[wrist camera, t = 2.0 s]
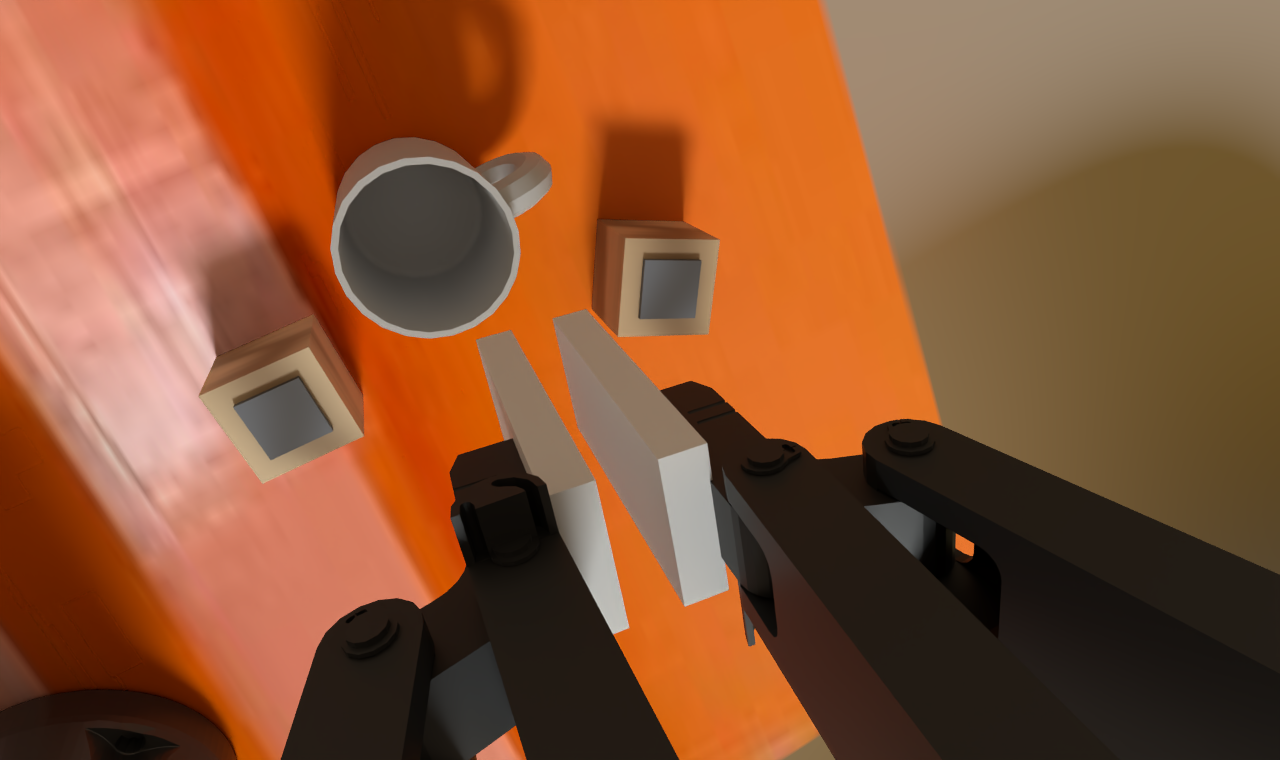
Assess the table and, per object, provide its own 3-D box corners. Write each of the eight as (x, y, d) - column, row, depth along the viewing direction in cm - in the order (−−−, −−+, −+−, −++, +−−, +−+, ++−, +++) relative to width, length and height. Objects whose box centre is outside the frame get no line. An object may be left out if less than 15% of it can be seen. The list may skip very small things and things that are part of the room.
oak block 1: (272, 436, 40) (261, 486, 35) (216, 356, 37) (197, 398, 33) (363, 394, 41) (364, 438, 36) (313, 313, 38) (308, 349, 34)
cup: (304, 178, 36) (290, 212, 28) (493, 82, 37) (530, 89, 29) (388, 307, 39) (396, 369, 31) (559, 215, 40) (607, 254, 33)
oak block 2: (591, 308, 43) (619, 338, 38) (596, 218, 41) (627, 239, 36) (673, 307, 45) (710, 336, 40) (682, 221, 43) (722, 241, 38)
